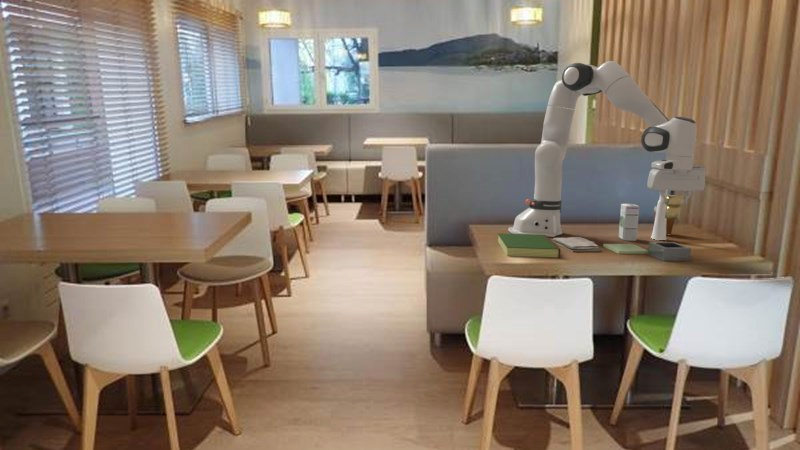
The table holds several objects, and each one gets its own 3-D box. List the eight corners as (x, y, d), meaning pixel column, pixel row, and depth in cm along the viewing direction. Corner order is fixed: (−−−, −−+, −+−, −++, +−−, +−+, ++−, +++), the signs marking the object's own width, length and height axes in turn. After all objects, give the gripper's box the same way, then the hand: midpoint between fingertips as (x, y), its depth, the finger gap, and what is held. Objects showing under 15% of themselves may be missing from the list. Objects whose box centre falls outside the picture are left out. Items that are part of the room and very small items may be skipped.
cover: (669, 219, 208) (671, 197, 207) (659, 216, 214) (662, 194, 212) (684, 219, 209) (687, 197, 207) (674, 216, 215) (677, 195, 213)
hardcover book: (559, 259, 209) (560, 248, 209) (506, 257, 210) (506, 246, 209) (544, 243, 234) (545, 234, 233) (497, 242, 234) (497, 232, 234)
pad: (618, 253, 218) (618, 251, 217) (603, 246, 229) (603, 243, 229) (648, 253, 219) (649, 250, 219) (632, 246, 231) (632, 243, 231)
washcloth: (572, 253, 218) (573, 245, 217) (550, 243, 235) (551, 235, 235) (601, 253, 220) (602, 245, 220) (577, 242, 238) (578, 235, 237)
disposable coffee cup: (677, 237, 252) (680, 209, 250) (653, 235, 253) (656, 208, 251) (671, 232, 261) (674, 206, 259) (648, 231, 262) (651, 204, 260)
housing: (663, 260, 208) (664, 248, 208) (647, 254, 218) (649, 242, 217) (689, 260, 210) (691, 248, 209) (673, 254, 220) (674, 242, 219)
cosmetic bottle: (654, 240, 243) (660, 187, 239) (648, 237, 249) (653, 185, 245) (669, 241, 243) (675, 187, 239) (662, 237, 249) (668, 185, 245)
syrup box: (636, 241, 242) (640, 205, 239) (622, 240, 241) (625, 205, 239) (631, 238, 247) (634, 203, 244) (617, 237, 247) (620, 203, 244)
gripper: (700, 164, 212) (695, 202, 215) (647, 162, 209) (642, 201, 212) (711, 165, 206) (706, 205, 209) (657, 164, 203) (652, 204, 206)
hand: (673, 203), depth 210 cm, fingers closed on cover, 6 cm apart
